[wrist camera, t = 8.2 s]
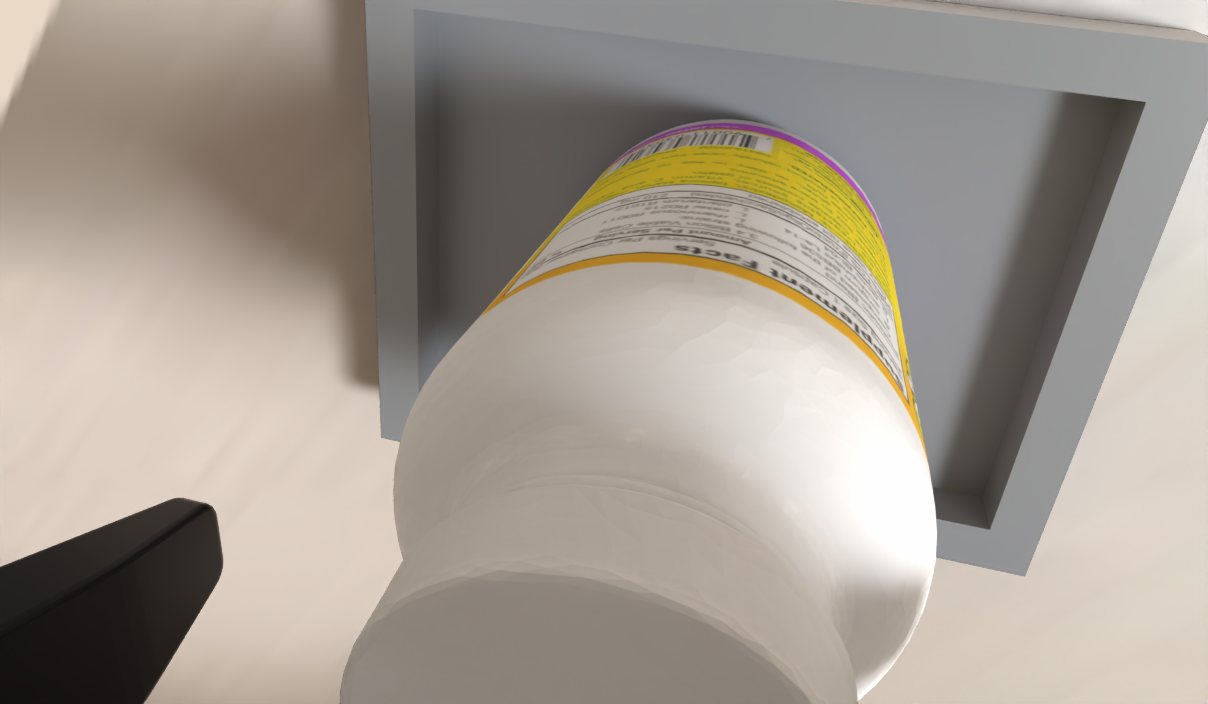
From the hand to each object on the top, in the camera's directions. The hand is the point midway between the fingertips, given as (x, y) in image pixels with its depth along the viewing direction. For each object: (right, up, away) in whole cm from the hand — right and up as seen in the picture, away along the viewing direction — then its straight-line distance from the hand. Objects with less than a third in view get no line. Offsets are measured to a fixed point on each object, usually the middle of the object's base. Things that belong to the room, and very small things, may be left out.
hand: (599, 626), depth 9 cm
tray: (+3, +5, +10) cm, 12 cm away
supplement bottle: (+3, +5, +10) cm, 11 cm away
